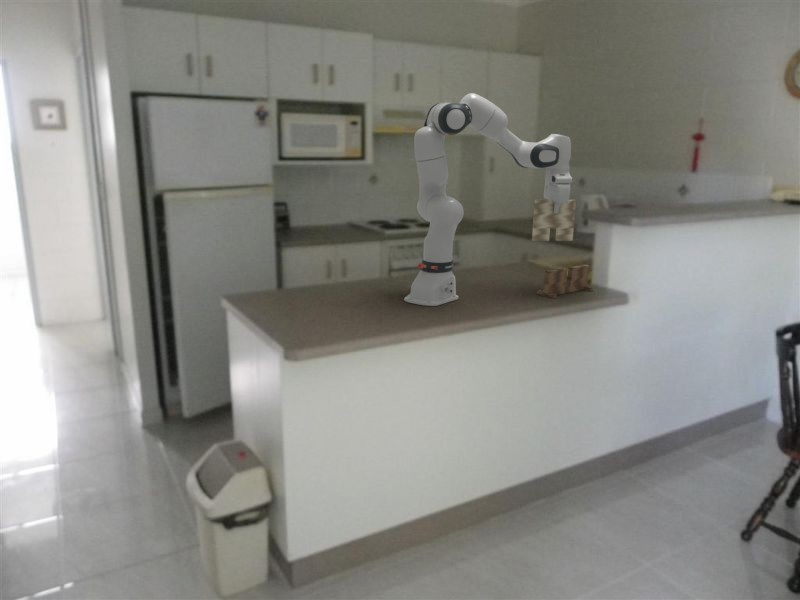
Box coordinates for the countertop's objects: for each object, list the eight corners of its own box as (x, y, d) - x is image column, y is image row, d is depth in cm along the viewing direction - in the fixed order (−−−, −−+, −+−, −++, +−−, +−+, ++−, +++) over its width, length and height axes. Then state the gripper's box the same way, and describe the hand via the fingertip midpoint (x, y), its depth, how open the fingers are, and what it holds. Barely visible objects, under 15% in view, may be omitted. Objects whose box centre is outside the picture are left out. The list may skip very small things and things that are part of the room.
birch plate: (533, 241, 237) (536, 200, 233) (531, 240, 239) (534, 199, 234) (572, 240, 238) (576, 200, 234) (570, 239, 240) (574, 199, 236)
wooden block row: (552, 298, 231) (554, 273, 229) (537, 294, 238) (539, 269, 235) (592, 290, 244) (595, 266, 242) (577, 286, 251) (579, 263, 248)
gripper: (541, 175, 241) (538, 209, 245) (557, 178, 222) (554, 216, 226) (556, 175, 242) (553, 209, 246) (574, 178, 222) (571, 216, 226)
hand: (554, 212), depth 235 cm, fingers closed on birch plate, 2 cm apart
